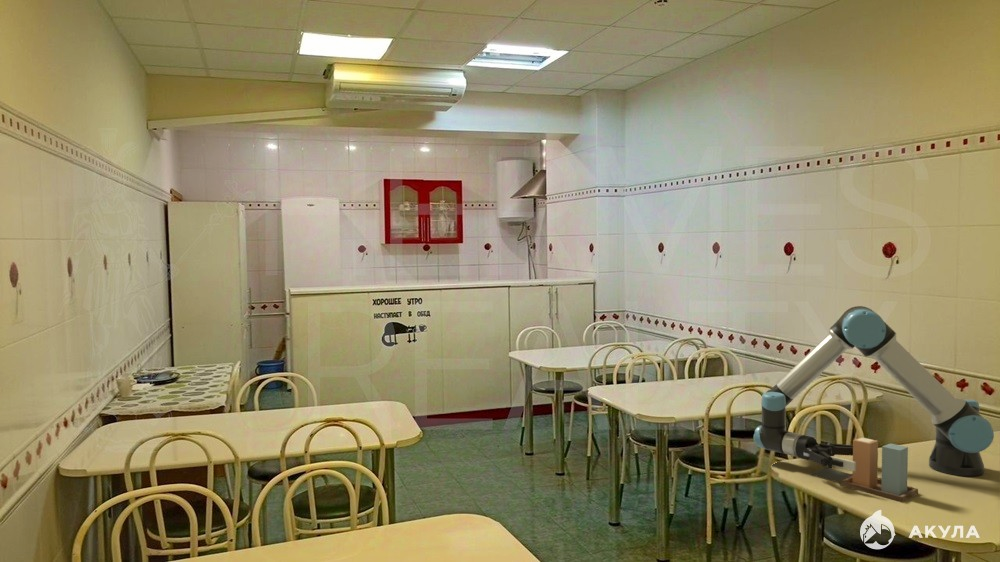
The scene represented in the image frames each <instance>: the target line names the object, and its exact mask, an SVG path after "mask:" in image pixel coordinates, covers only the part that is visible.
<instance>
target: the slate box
mask: <svg viewBox="0 0 1000 562" xmlns="http://www.w3.org/2000/svg"><path fill="white" fill-rule="evenodd" d="M908 452H909V447H908V446H904V445H901V444H895V443H888V444H885V445H883V446H881V480H882V483H881V491H883V492H887V493H890V494H894V495H898V496H901V495H903V494H905V493H907V486H908V466H909V465H908V463H909V462H908V460H909V457H908V455H909V453H908Z"/></svg>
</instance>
